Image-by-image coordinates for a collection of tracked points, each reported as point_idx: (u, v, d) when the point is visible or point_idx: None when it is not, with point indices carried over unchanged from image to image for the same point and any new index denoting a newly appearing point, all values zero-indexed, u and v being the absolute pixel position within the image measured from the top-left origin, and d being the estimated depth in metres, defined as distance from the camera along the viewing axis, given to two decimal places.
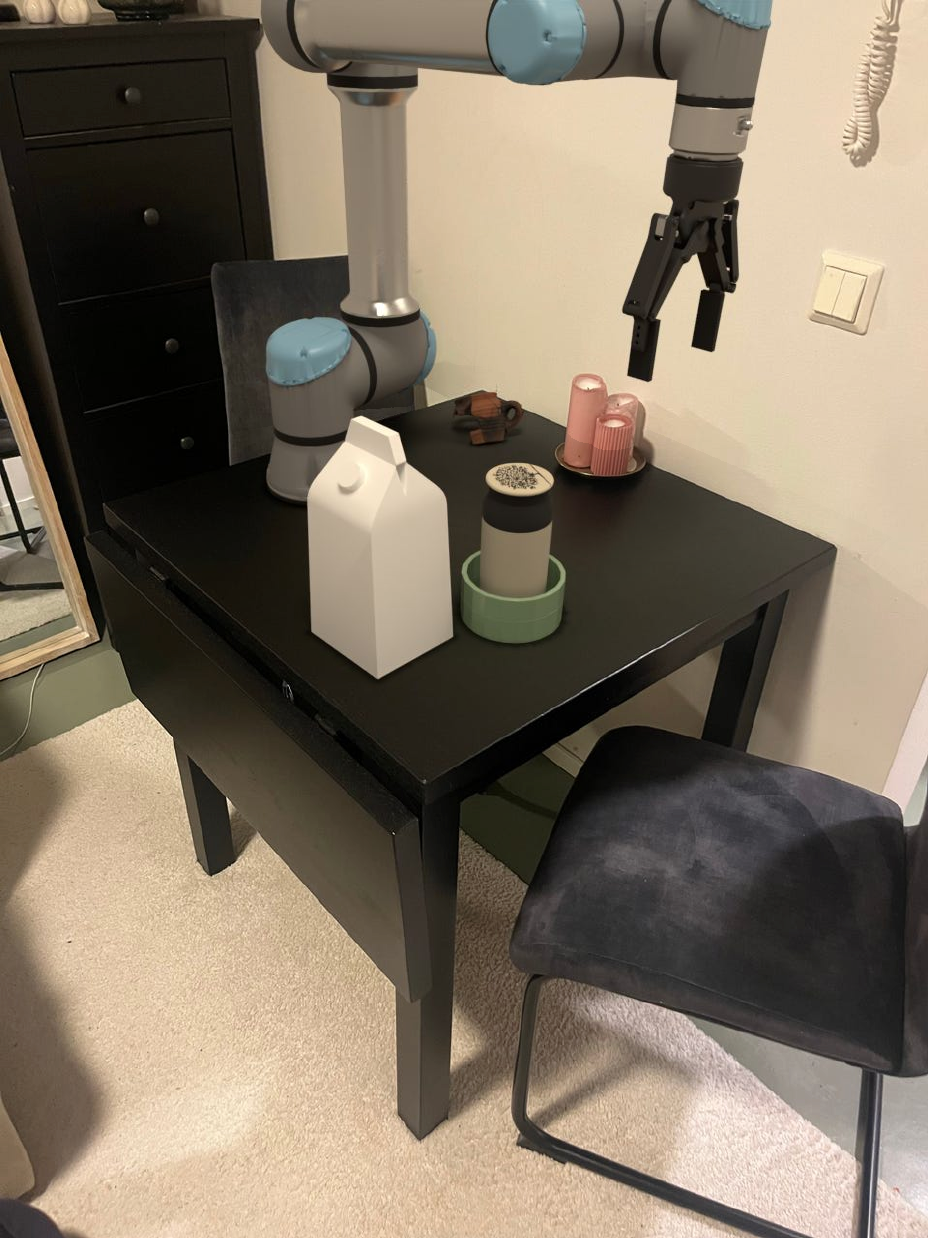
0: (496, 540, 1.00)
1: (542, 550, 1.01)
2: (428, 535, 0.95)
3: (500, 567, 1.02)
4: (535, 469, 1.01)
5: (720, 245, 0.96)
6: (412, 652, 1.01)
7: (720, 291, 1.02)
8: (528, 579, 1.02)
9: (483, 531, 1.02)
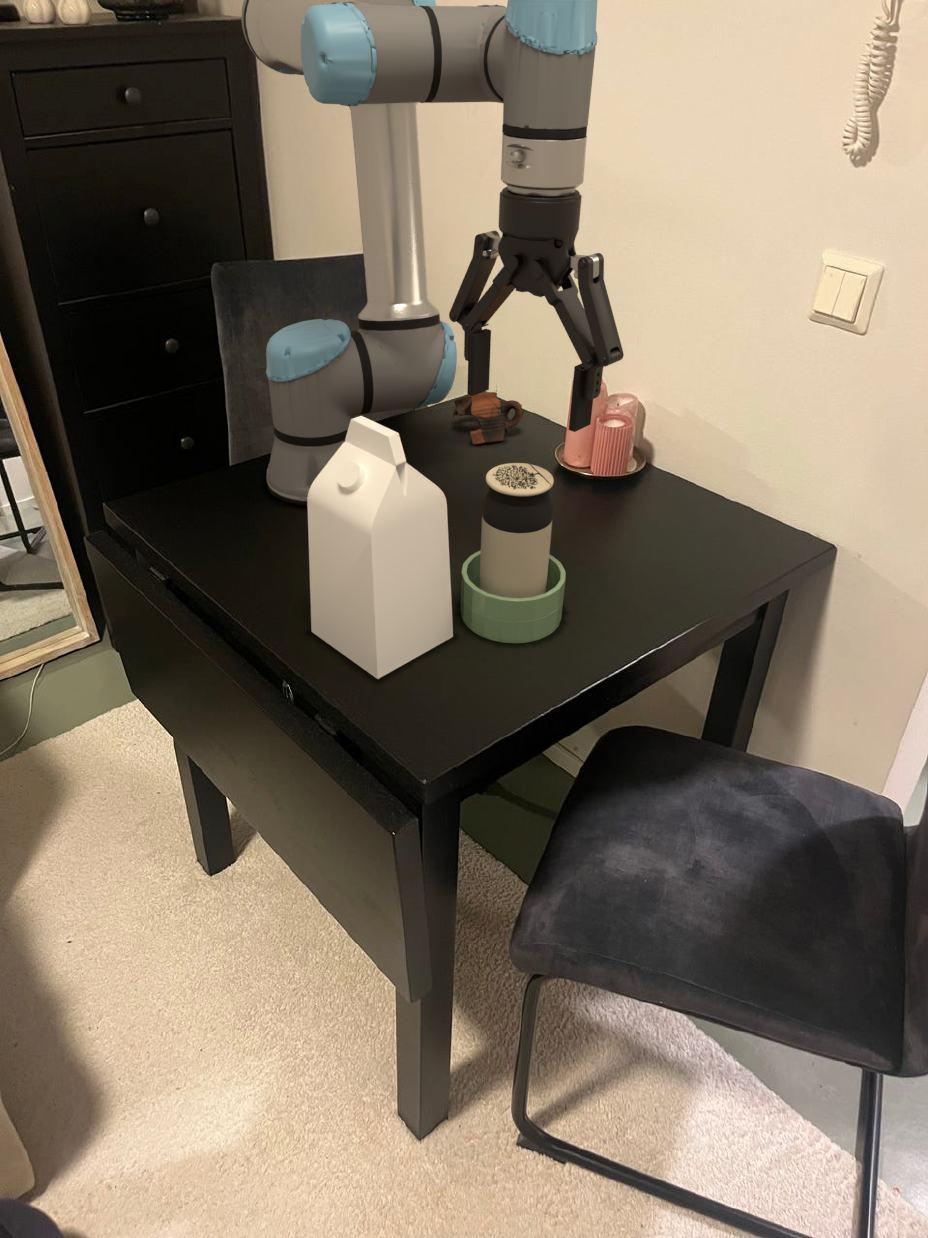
0: (496, 540, 1.00)
1: (542, 550, 1.01)
2: (428, 535, 0.95)
3: (500, 567, 1.02)
4: (535, 469, 1.01)
5: (550, 297, 0.85)
6: (412, 652, 1.01)
7: None
8: (528, 579, 1.02)
9: (483, 531, 1.02)
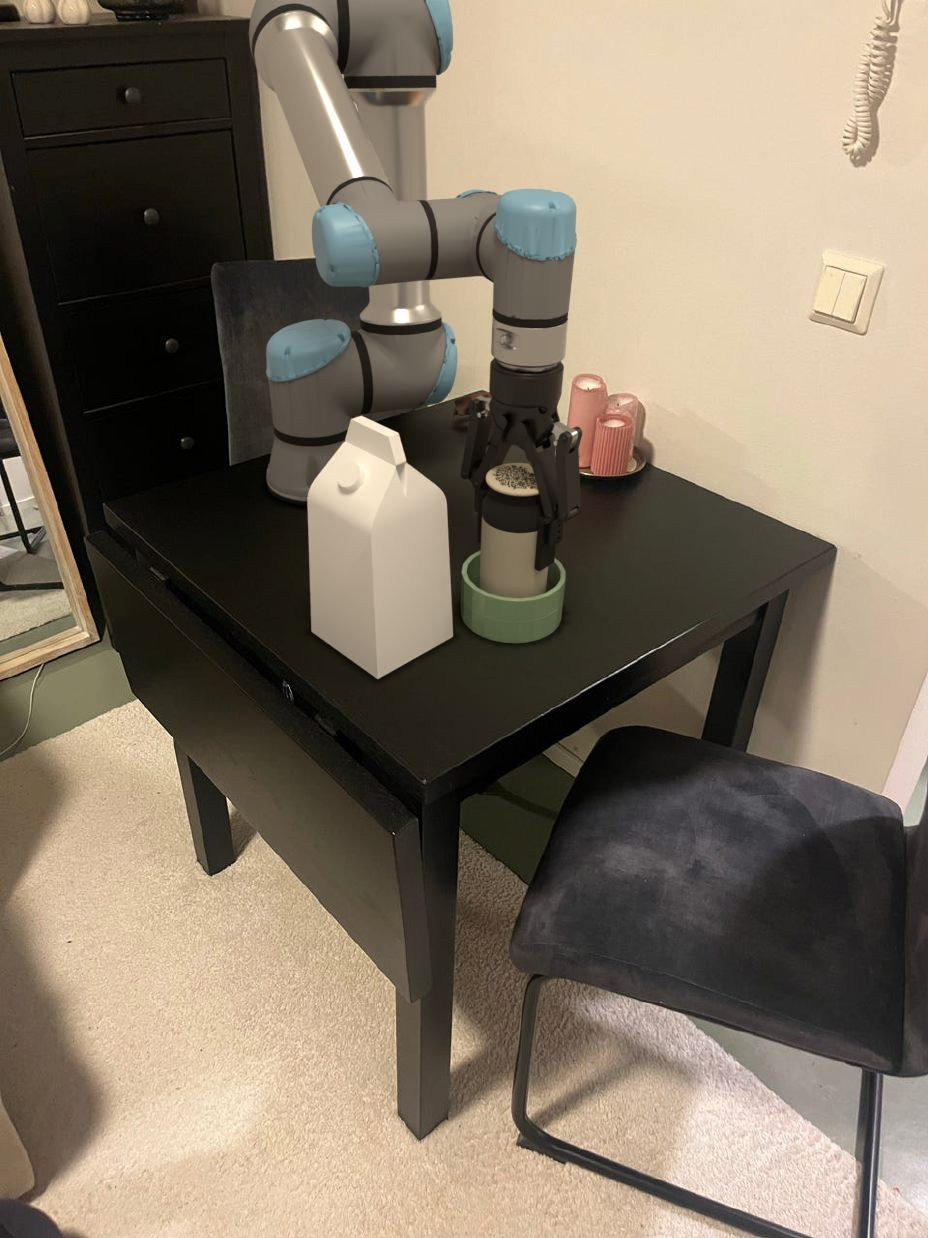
0: (496, 539, 1.00)
1: None
2: (428, 536, 0.95)
3: (500, 567, 1.02)
4: None
5: (529, 456, 0.94)
6: (412, 652, 1.01)
7: None
8: (528, 579, 1.02)
9: (483, 531, 1.02)
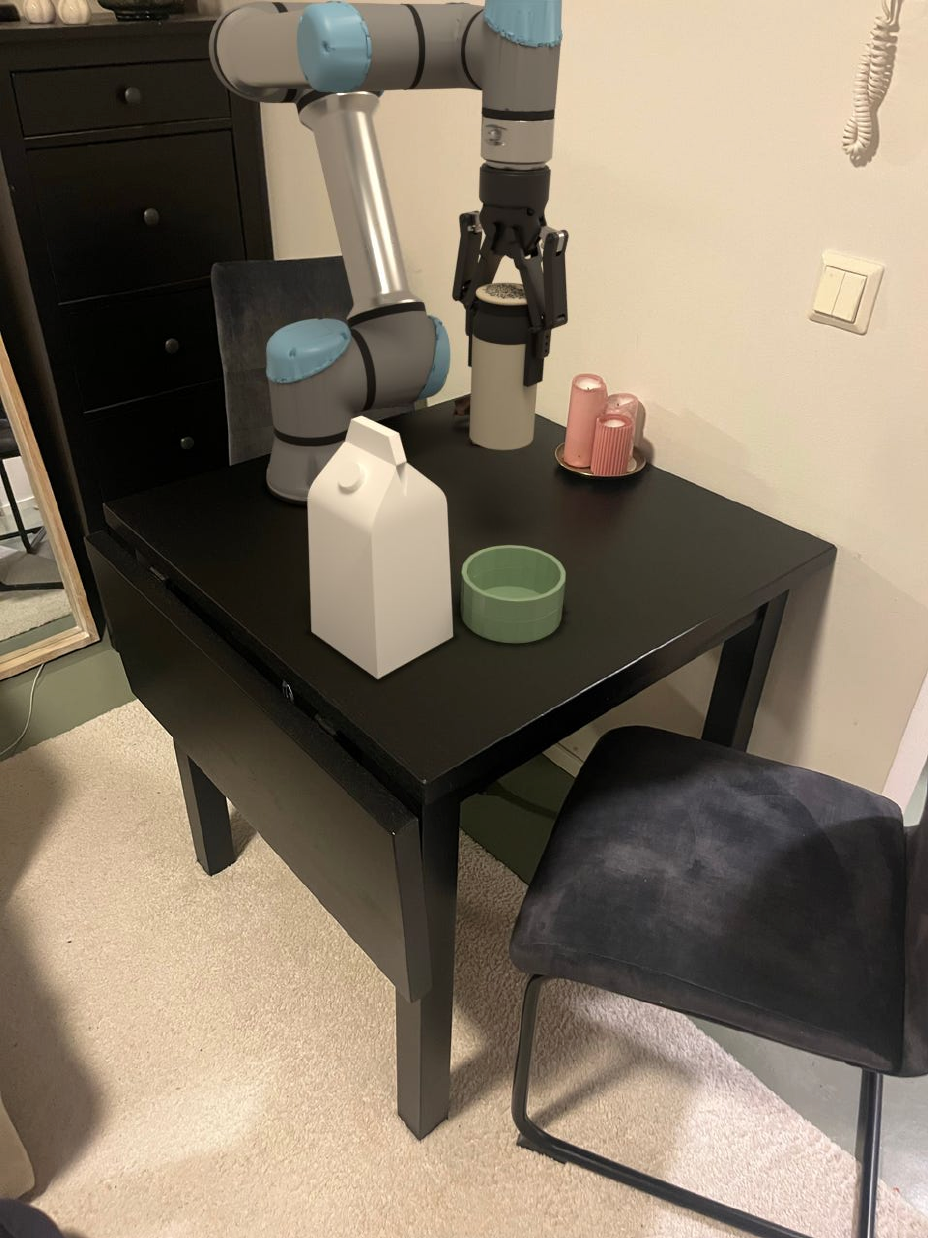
0: (486, 353, 1.03)
1: None
2: (428, 536, 0.95)
3: (490, 384, 1.05)
4: None
5: (517, 262, 0.98)
6: (412, 652, 1.01)
7: None
8: (517, 396, 1.06)
9: (473, 348, 1.05)
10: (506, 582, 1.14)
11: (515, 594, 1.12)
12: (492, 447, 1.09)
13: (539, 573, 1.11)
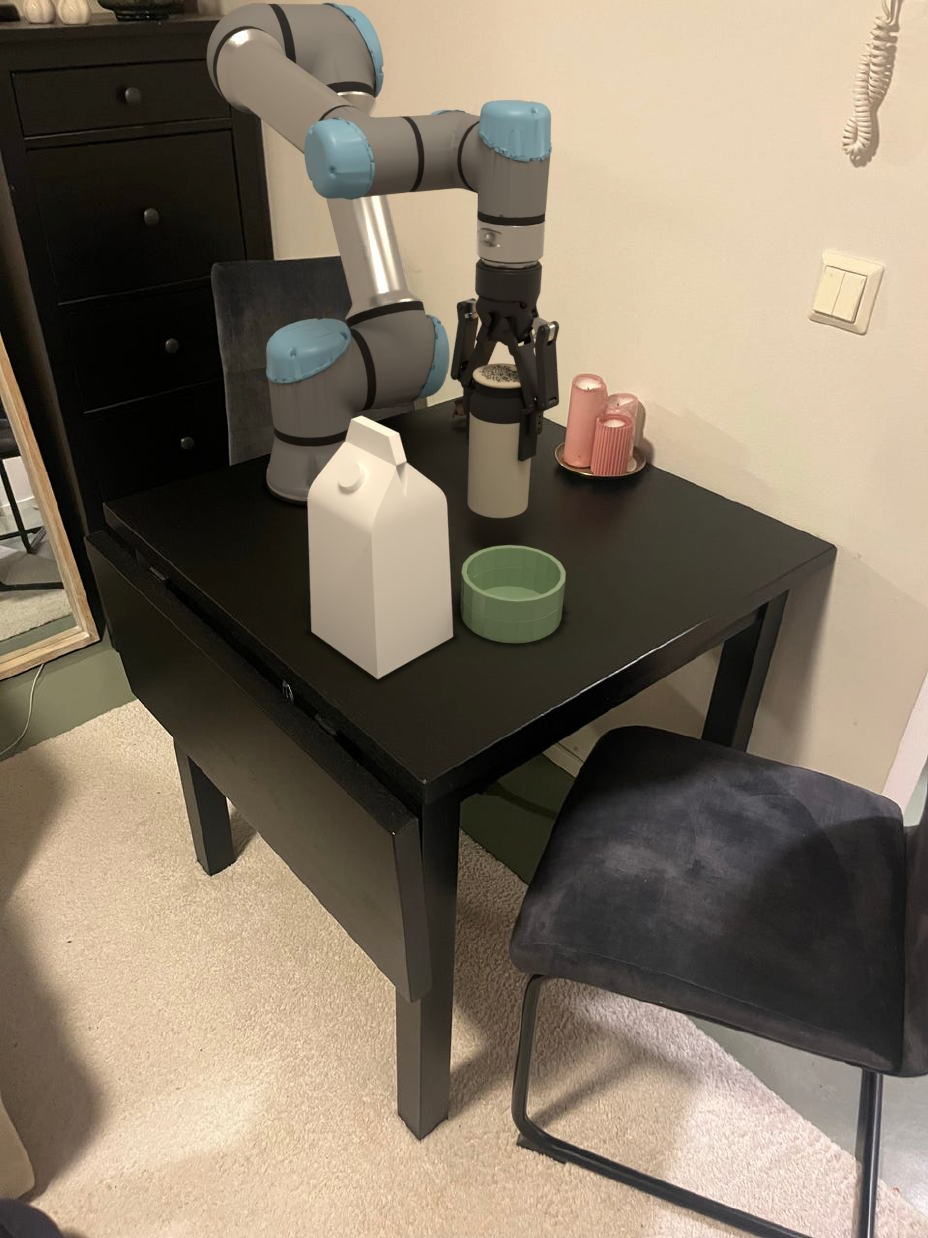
0: (483, 431, 1.10)
1: None
2: (428, 536, 0.95)
3: (487, 458, 1.11)
4: None
5: (511, 350, 1.04)
6: (412, 652, 1.01)
7: (528, 407, 1.08)
8: (512, 470, 1.12)
9: (471, 425, 1.11)
10: (506, 582, 1.14)
11: (515, 594, 1.12)
12: (489, 515, 1.16)
13: (539, 573, 1.11)
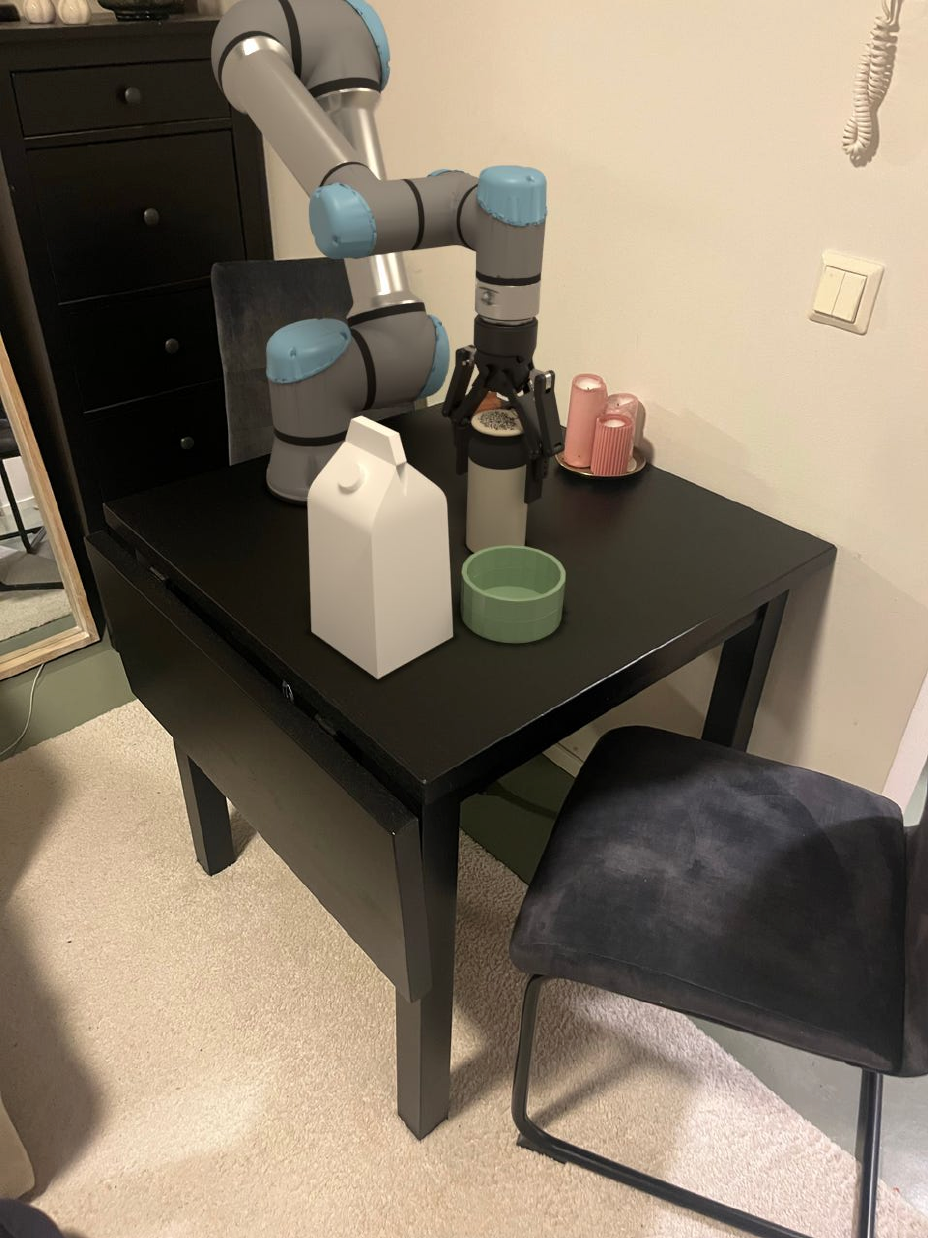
0: (481, 476, 1.13)
1: (521, 486, 1.14)
2: (428, 536, 0.95)
3: (484, 502, 1.15)
4: (515, 414, 1.14)
5: (511, 400, 1.08)
6: (412, 652, 1.01)
7: None
8: (509, 513, 1.16)
9: (469, 470, 1.15)
10: (506, 582, 1.14)
11: (515, 594, 1.12)
12: None
13: (539, 573, 1.11)
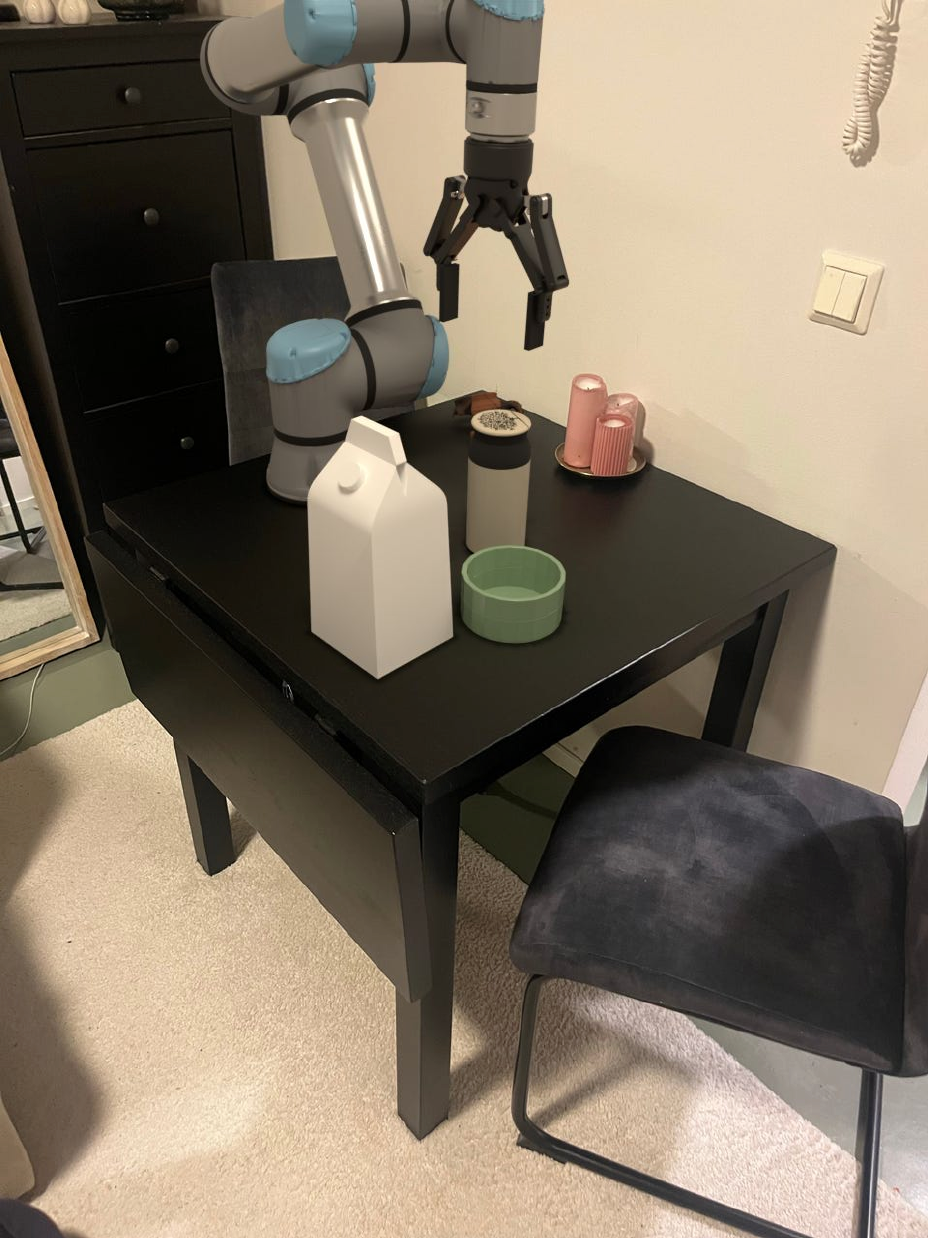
0: (481, 476, 1.13)
1: (521, 486, 1.14)
2: (428, 536, 0.95)
3: (484, 502, 1.15)
4: (515, 414, 1.14)
5: (507, 231, 0.99)
6: (412, 652, 1.01)
7: None
8: (509, 513, 1.16)
9: (469, 470, 1.15)
10: (506, 582, 1.14)
11: (515, 594, 1.12)
12: None
13: (539, 573, 1.11)
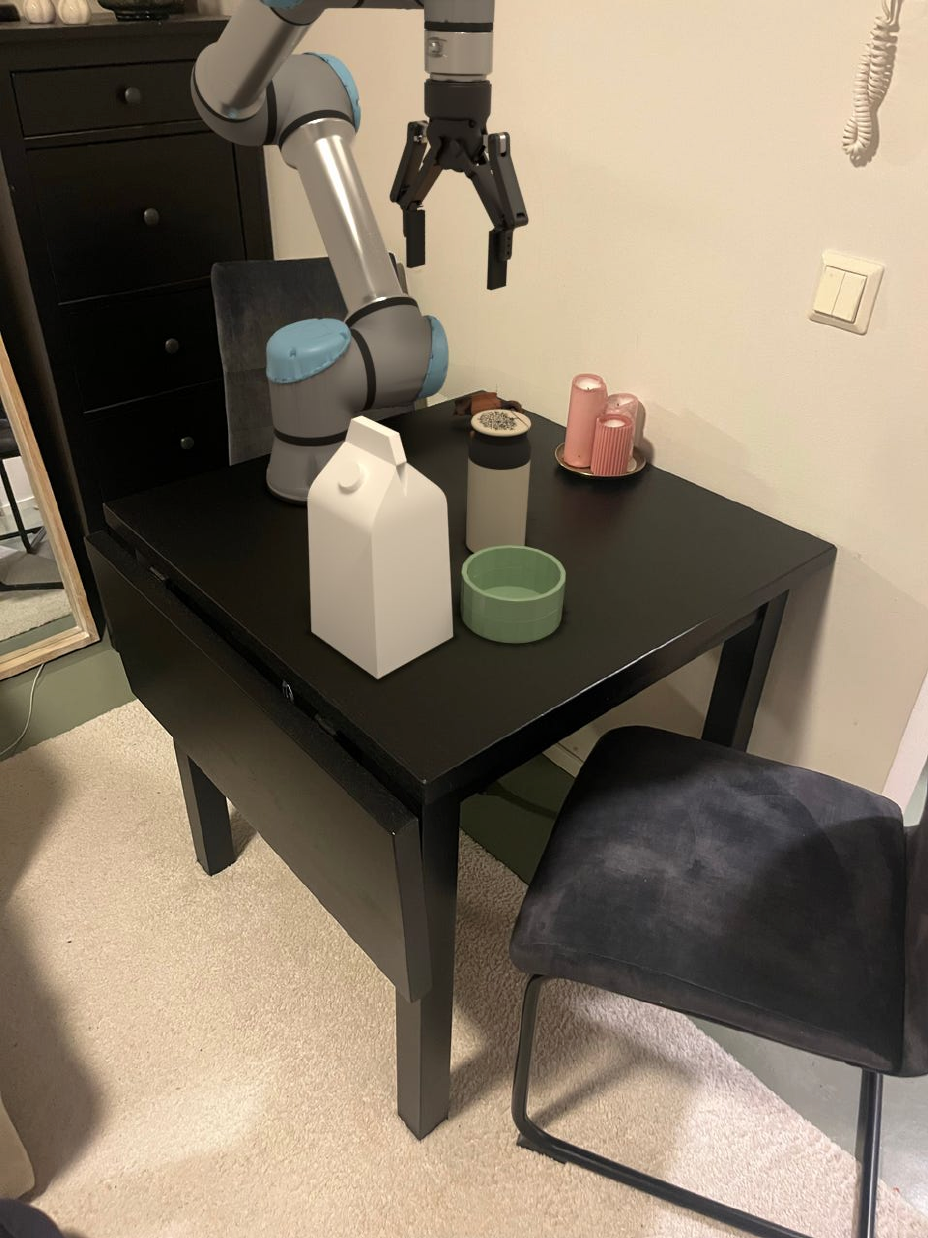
0: (481, 476, 1.13)
1: (521, 486, 1.14)
2: (428, 536, 0.95)
3: (484, 502, 1.15)
4: (515, 414, 1.14)
5: (467, 171, 1.02)
6: (412, 652, 1.01)
7: None
8: (509, 513, 1.16)
9: (469, 470, 1.15)
10: (506, 582, 1.14)
11: (515, 594, 1.12)
12: None
13: (539, 573, 1.11)
